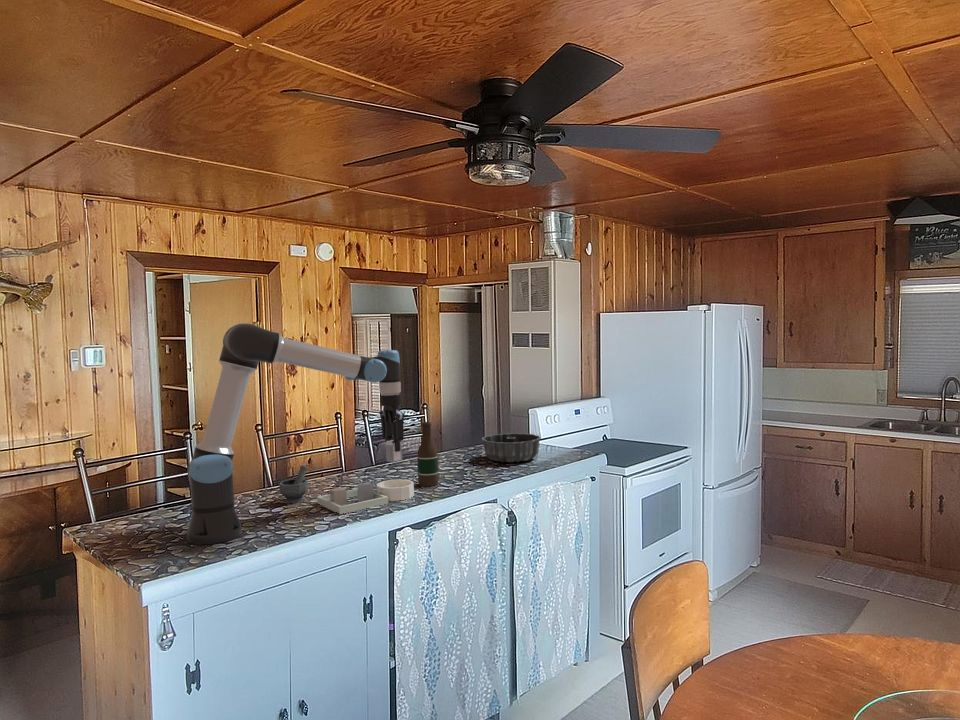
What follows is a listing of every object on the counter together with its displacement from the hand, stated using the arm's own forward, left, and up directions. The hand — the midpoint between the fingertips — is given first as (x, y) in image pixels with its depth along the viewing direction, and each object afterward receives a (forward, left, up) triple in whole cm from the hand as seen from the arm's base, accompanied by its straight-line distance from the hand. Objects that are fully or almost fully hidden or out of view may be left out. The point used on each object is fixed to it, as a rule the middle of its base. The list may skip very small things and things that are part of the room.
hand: (393, 459), depth 231 cm
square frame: (-15, +3, -14) cm, 21 cm away
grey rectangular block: (0, 0, 0) cm, 1 cm away
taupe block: (-20, +3, -14) cm, 25 cm away
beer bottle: (+19, +7, -14) cm, 25 cm away
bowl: (+1, +1, -14) cm, 14 cm away
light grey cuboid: (-10, +3, -14) cm, 17 cm away
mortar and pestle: (-28, +21, -14) cm, 38 cm away
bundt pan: (+72, +20, -14) cm, 76 cm away
